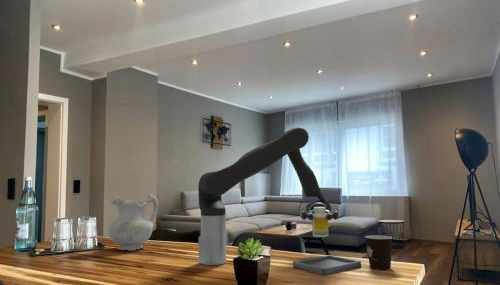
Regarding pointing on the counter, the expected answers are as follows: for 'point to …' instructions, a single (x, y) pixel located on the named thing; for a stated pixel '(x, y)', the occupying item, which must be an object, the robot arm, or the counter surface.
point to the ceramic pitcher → (132, 223)
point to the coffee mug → (379, 251)
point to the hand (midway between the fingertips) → (320, 217)
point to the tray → (326, 264)
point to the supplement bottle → (320, 222)
